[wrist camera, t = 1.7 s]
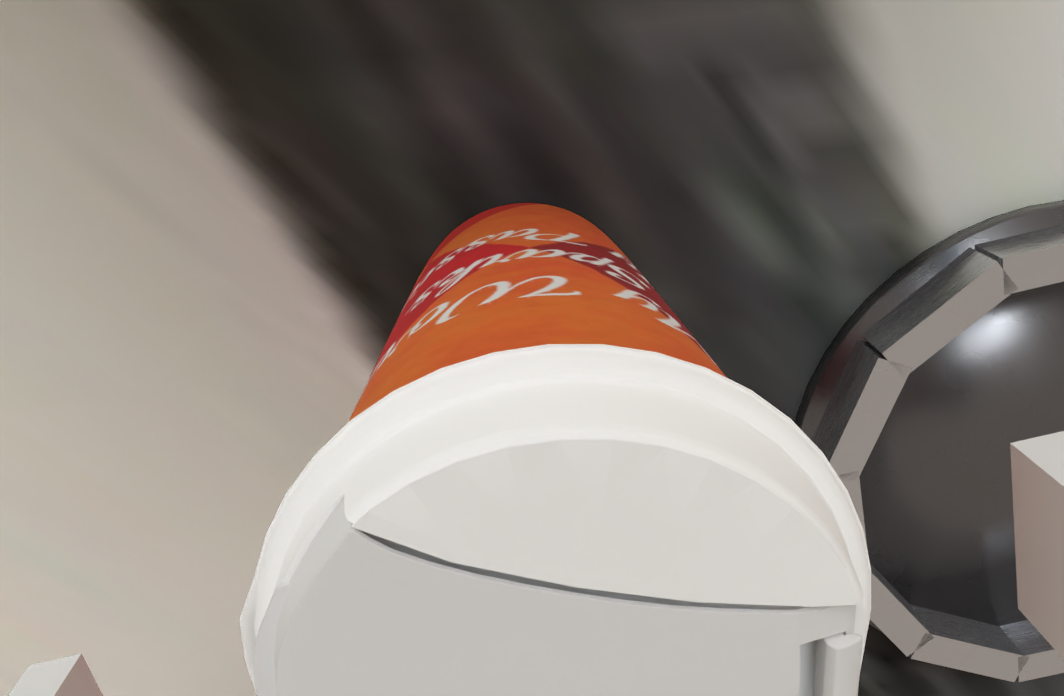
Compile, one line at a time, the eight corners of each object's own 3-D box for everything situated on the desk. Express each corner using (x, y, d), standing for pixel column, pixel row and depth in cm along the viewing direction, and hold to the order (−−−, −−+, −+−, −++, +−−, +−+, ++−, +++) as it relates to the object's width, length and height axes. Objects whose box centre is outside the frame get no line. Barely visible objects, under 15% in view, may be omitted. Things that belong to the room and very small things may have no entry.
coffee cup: (673, 146, 23) (956, 365, 9) (674, 429, 26) (887, 921, 12) (352, 169, 23) (135, 425, 9) (389, 451, 26) (273, 974, 12)
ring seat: (757, 270, 24) (779, 292, 23) (1306, 140, 24) (1376, 152, 22) (817, 687, 30) (839, 732, 28) (1266, 590, 29) (1319, 630, 27)
